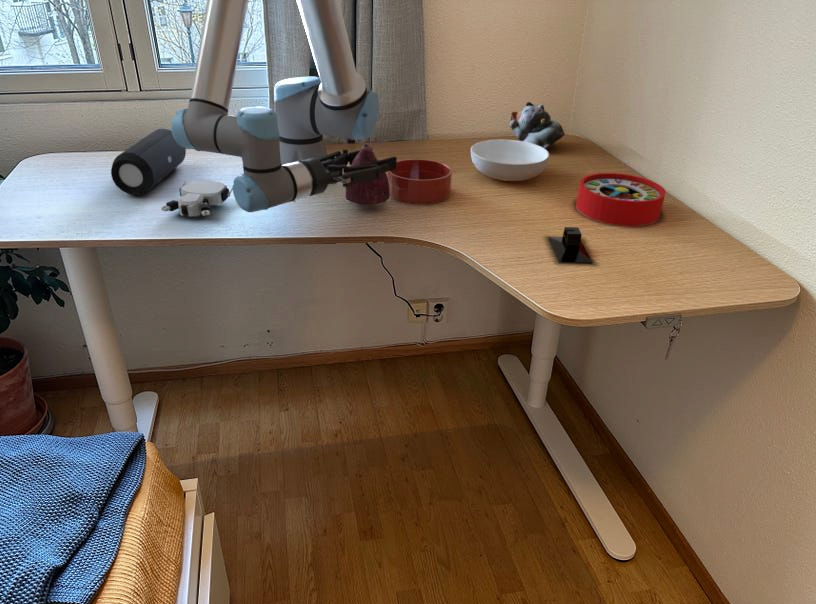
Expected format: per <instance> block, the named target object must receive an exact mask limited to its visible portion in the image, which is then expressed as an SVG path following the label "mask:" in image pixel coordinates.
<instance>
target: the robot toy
mask: <svg viewBox="0 0 816 604" xmlns="http://www.w3.org/2000/svg"><path fill="white" fill-rule="evenodd" d="M178 191H179V196H180V198H179V200H174V199H173V200H170V201H168V202H165V205H163V206H161V208H160V209H161V211H163V212H174V211H176V210H178V211H179V215H180V216H182V217H183V216H186V217H187V216H188V217H200V215H202V216H205V217H206V216H210V215H211V206H219V205H222V204H223V203H224V202H225V201H227V199H228V198H230V197H231V194H232V193H233V186H232V187H231V189H229V188H228V185H227V184H226V183H224V182H221V181H218V180H217V181H216V180H211V179H194V180H191V181H188V179H185V180H184V182H183V184H182V185H181V187H179V190H178Z"/></svg>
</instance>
